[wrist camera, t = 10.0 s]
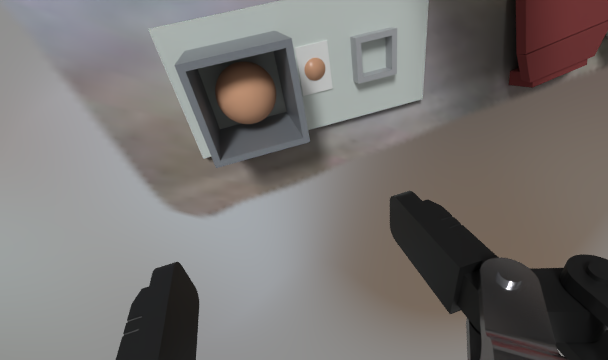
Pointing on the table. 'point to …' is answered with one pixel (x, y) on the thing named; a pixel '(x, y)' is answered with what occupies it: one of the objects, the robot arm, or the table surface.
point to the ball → (245, 92)
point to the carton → (556, 37)
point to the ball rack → (296, 67)
